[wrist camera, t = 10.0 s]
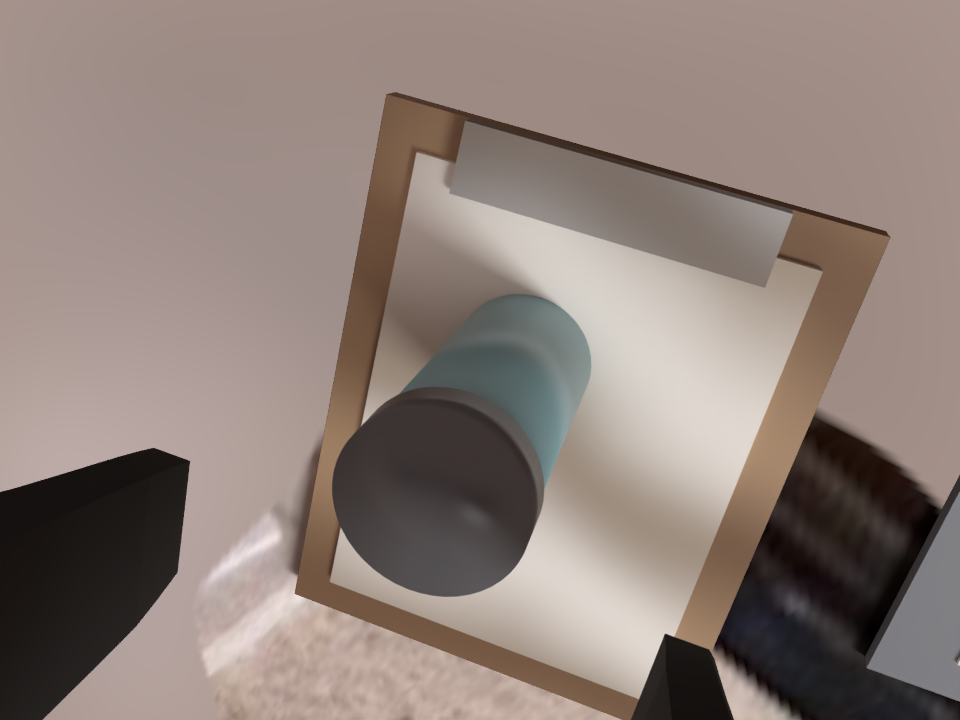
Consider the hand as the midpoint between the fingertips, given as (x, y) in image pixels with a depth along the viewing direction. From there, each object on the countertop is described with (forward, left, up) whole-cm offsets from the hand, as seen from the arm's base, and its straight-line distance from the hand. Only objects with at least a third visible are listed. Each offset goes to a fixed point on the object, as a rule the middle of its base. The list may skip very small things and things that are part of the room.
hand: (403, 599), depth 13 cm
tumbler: (0, 0, -9) cm, 9 cm away
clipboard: (-2, -1, -10) cm, 10 cm away
